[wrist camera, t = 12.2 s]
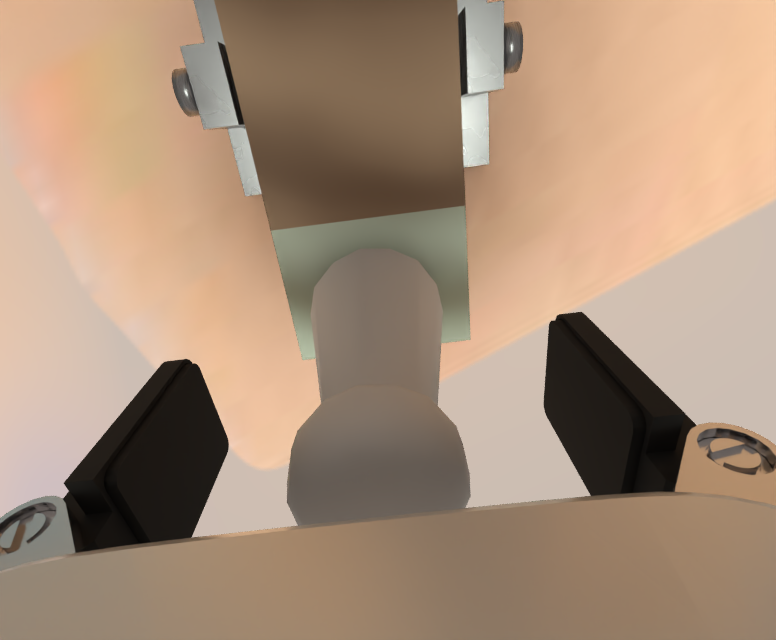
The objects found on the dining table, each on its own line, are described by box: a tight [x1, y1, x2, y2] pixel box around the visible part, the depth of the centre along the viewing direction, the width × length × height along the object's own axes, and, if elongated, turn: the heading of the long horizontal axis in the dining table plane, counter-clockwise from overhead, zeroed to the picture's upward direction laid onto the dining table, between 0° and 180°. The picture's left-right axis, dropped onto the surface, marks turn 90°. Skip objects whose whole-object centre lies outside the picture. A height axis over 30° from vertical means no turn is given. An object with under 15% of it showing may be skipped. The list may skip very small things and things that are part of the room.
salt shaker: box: [287, 249, 470, 526], centre depth 15 cm, size 6×6×13 cm
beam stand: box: [172, 0, 523, 196], centre depth 19 cm, size 10×14×6 cm
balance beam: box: [214, 0, 470, 360], centre depth 17 cm, size 26×9×2 cm, turn 7°
